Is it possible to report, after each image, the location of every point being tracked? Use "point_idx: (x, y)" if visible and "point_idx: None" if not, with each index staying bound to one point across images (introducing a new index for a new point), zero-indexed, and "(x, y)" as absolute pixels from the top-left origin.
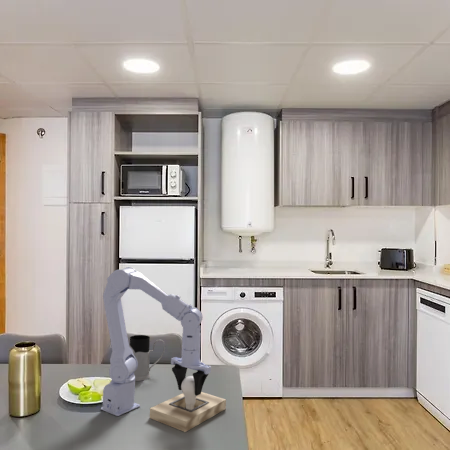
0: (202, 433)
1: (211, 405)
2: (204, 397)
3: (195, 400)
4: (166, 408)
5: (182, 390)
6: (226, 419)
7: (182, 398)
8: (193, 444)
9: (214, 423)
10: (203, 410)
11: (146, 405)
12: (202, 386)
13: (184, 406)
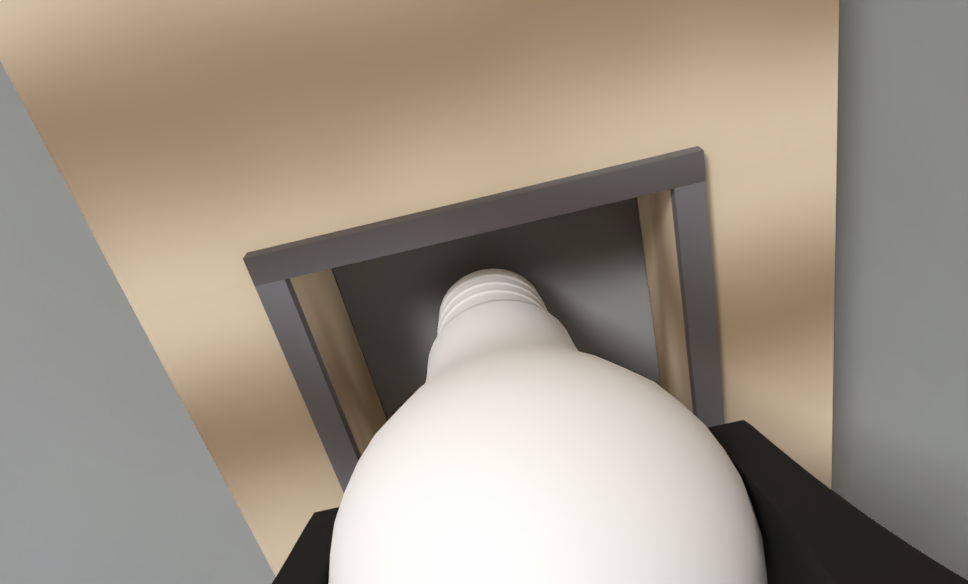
0: (917, 446)
1: (792, 177)
2: (476, 58)
3: (566, 335)
4: None
5: None
6: (964, 53)
7: (326, 384)
8: (959, 575)
9: (896, 243)
10: (808, 361)
11: (58, 540)
12: (846, 508)
13: (329, 277)
